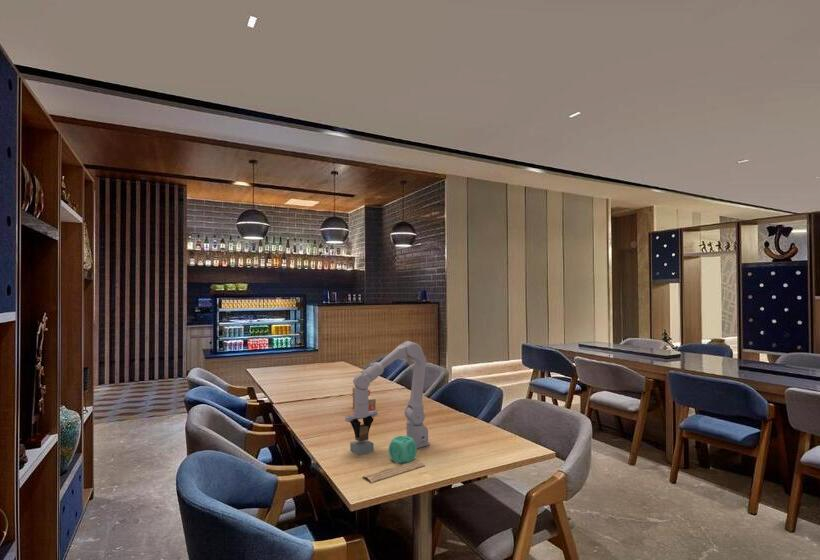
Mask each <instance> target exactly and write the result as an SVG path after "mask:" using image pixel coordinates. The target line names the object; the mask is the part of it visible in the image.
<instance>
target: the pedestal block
mask: <svg viewBox="0 0 820 560" xmlns="http://www.w3.org/2000/svg"><path fill="white" fill-rule="evenodd" d="M349 446H350V447H349V448H350V451H351V452H353V453H354V454H356V455H359V456H360V455H363V454H368V453H371V452H374V451H375V450H374V449H375V446H374V442H372V441H371V440H369V439H368V440H365V441H361V442H360V441H357V440H354V441H350V445H349Z"/></svg>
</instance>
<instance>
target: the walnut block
mask: <svg viewBox="0 0 820 560" xmlns="http://www.w3.org/2000/svg"><path fill="white" fill-rule="evenodd" d="M365 440H368V441H369V434H368V426H366V425H364V423H362V424H360V430H359V438H357V437H355V436H354V441H360V442H361V441H365Z"/></svg>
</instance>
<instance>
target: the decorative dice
mask: <svg viewBox="0 0 820 560" xmlns="http://www.w3.org/2000/svg"><path fill="white" fill-rule="evenodd" d="M417 449H418V448H417V446H416V443H415V441H414V440H413V439H412V438H411V437H409V436H407V435H400V436H399V435H398V436H395V437H393V438H392V439H391V441H390V443H389V445H388V454H389V457H390V458H391V460H392V461H393V462H394V463H395V464H396V463H397V464H401V465H402V464H405V463H409V462H412V461H414V459H415V458H416V455H417V451H418V450H417Z"/></svg>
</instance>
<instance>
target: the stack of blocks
mask: <svg viewBox="0 0 820 560" xmlns="http://www.w3.org/2000/svg"><path fill="white" fill-rule="evenodd" d="M370 393H371V392H370V389H369V388H368V411H374V410H375V411H376V398H375V397H374V396H372V395H371V394H370ZM352 409H353V410H354V411H355V386H353V387H352Z"/></svg>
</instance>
